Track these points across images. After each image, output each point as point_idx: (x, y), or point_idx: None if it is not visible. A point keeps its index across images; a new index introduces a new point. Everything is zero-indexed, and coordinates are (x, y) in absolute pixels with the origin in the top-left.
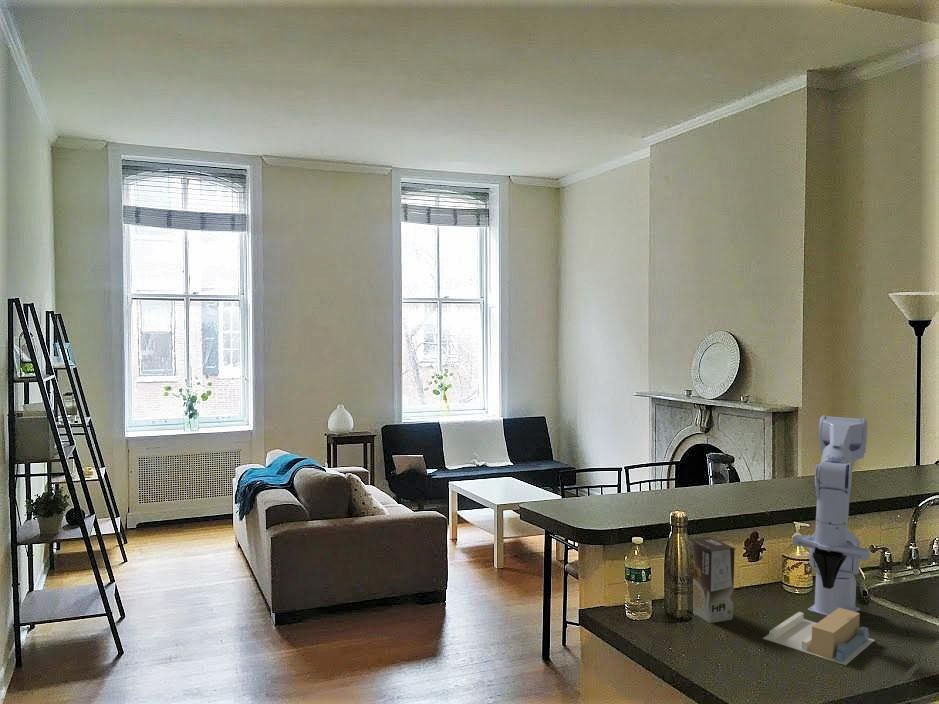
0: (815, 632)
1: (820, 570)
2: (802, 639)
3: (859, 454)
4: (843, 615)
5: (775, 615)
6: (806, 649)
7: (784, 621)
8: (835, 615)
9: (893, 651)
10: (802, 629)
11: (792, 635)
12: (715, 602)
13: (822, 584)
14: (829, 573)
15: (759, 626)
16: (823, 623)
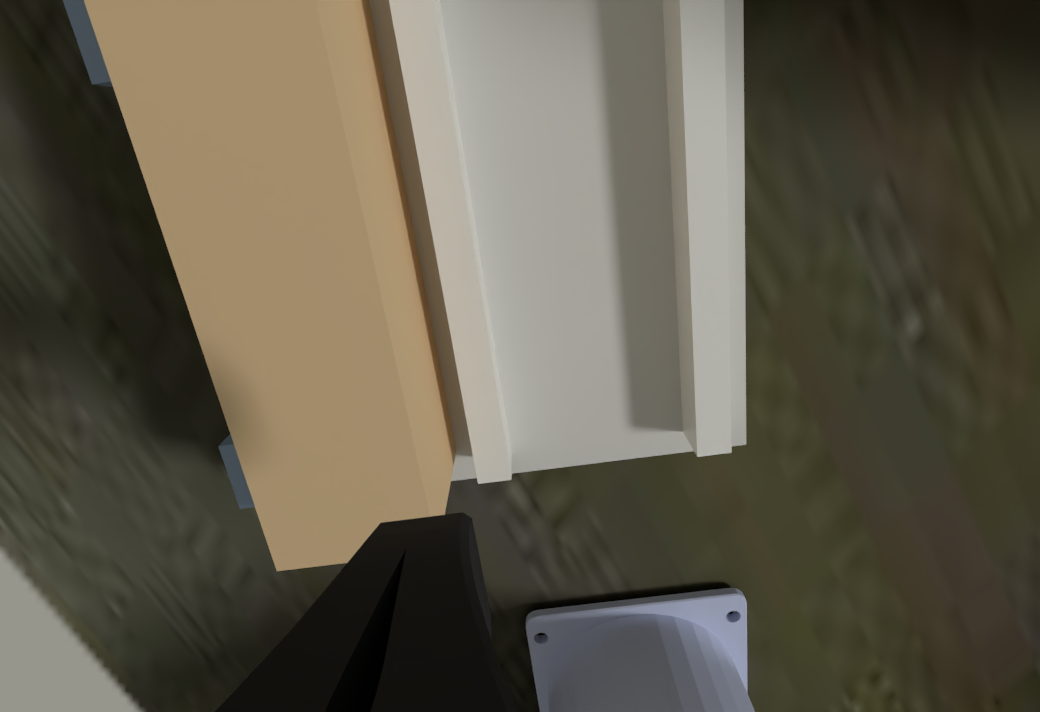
0: None
1: (474, 693)
2: (522, 116)
3: None
4: (312, 428)
5: (861, 392)
6: None
7: (724, 188)
8: (347, 371)
9: (143, 471)
10: (613, 288)
11: (607, 123)
12: None
13: None
14: (274, 701)
15: (871, 119)
16: (277, 69)
